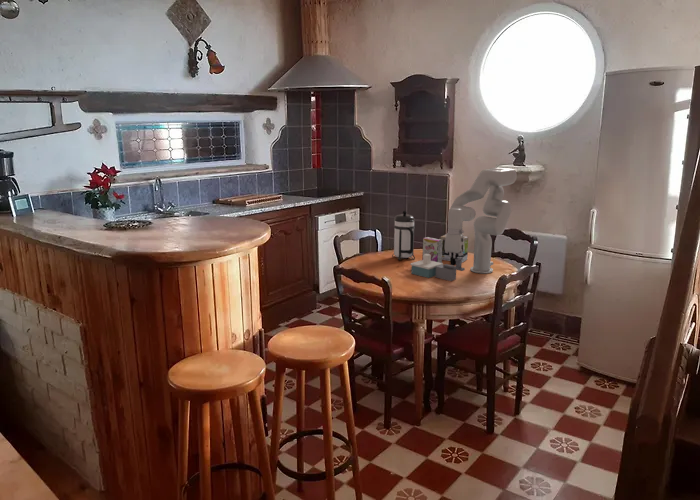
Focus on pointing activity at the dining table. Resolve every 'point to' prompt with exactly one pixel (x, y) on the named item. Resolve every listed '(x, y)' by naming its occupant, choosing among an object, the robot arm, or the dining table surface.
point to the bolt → (458, 265)
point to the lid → (426, 262)
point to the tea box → (465, 254)
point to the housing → (435, 272)
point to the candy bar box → (433, 248)
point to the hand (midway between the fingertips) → (453, 264)
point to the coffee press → (404, 236)
